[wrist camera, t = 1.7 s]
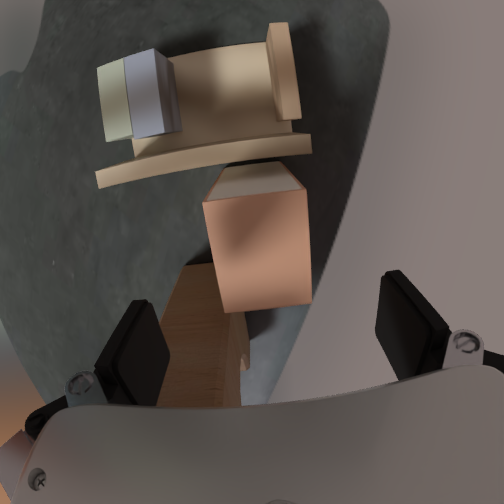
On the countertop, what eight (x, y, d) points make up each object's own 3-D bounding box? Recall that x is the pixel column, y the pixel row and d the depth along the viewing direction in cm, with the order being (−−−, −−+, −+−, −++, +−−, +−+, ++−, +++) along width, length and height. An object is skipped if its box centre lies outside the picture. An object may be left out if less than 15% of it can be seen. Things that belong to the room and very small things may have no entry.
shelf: (124, 72, 20) (80, 57, 13) (279, 42, 20) (291, 9, 12) (139, 169, 24) (98, 188, 17) (293, 145, 24) (312, 153, 16)
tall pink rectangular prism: (223, 167, 24) (202, 201, 14) (280, 160, 24) (306, 188, 13) (234, 236, 27) (224, 313, 16) (287, 230, 27) (312, 303, 16)
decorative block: (250, 342, 33) (251, 508, 14) (202, 345, 33) (177, 505, 15) (237, 258, 28) (221, 458, 10) (181, 263, 28) (109, 447, 10)
